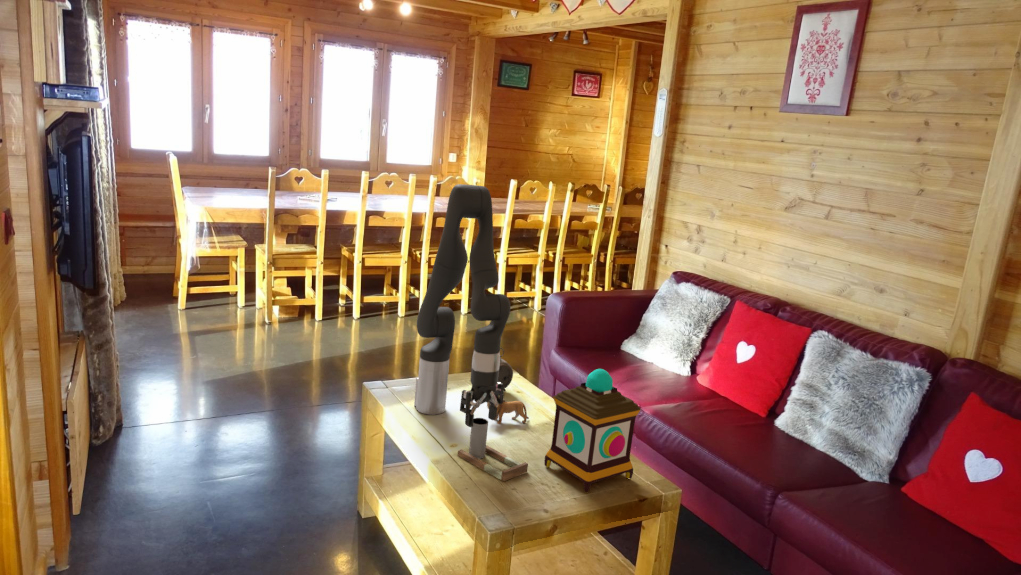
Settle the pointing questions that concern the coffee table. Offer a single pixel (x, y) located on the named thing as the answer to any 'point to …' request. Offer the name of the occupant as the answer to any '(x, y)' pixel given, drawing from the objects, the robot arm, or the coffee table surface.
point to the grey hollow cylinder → (478, 438)
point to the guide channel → (504, 475)
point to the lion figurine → (511, 410)
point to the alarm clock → (505, 372)
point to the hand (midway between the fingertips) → (480, 422)
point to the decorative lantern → (593, 430)
